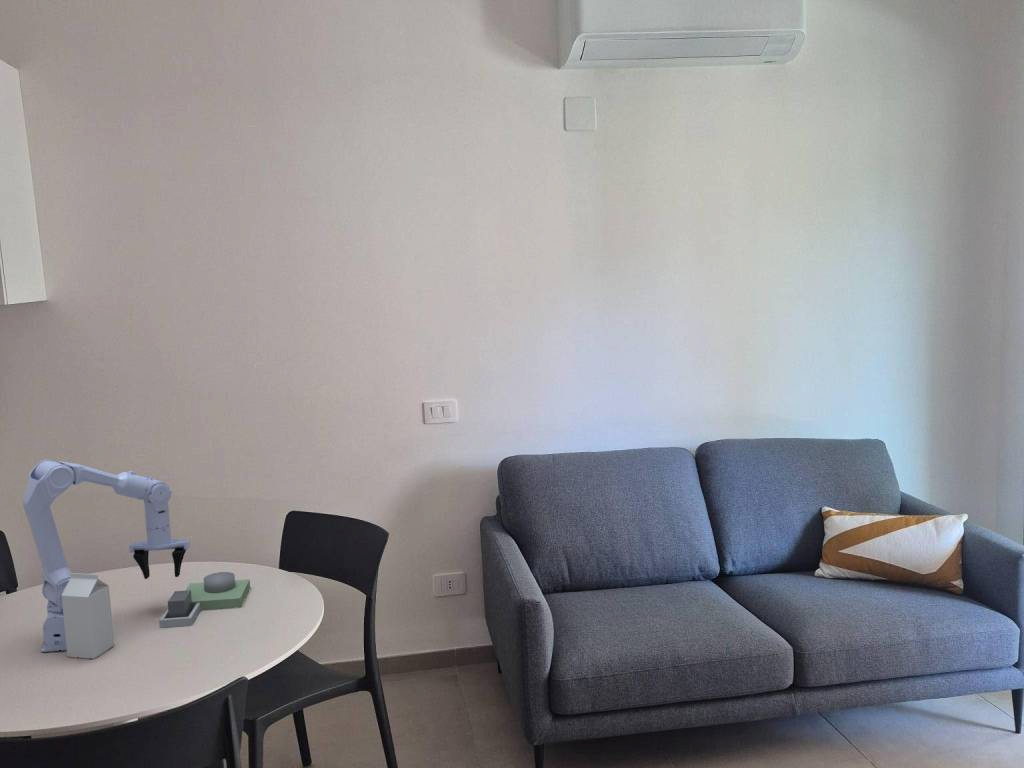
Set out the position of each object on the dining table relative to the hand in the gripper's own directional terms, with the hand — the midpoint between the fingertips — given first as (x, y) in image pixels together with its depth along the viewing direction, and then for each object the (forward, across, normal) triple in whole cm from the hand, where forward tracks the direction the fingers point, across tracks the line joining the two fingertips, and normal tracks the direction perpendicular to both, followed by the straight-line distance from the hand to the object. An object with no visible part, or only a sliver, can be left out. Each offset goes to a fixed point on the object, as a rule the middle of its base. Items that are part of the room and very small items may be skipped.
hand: (162, 576), depth 220 cm
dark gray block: (+10, -6, +5) cm, 12 cm away
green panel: (+9, -10, -1) cm, 14 cm away
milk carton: (+10, +10, +22) cm, 26 cm away
